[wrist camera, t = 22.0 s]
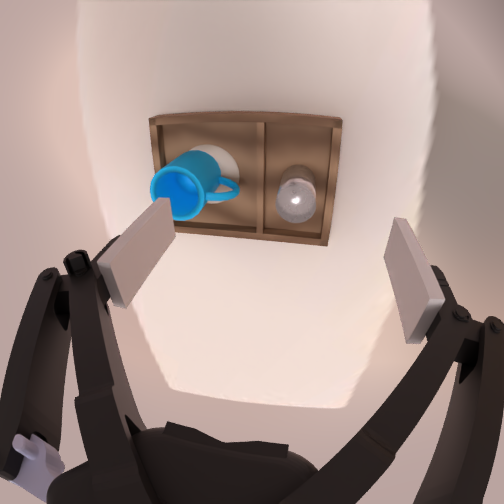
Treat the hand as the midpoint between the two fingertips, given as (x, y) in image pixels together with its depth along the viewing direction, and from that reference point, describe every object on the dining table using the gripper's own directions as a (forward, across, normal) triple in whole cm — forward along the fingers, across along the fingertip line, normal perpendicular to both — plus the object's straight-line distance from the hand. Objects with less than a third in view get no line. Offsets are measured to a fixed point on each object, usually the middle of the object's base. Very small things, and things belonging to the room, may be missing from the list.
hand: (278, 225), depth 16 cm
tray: (+28, -8, -7) cm, 30 cm away
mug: (+27, -14, -7) cm, 31 cm away
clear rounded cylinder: (+27, +1, -7) cm, 28 cm away
